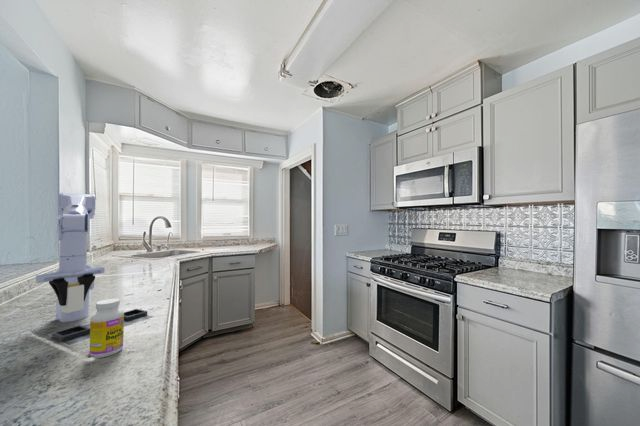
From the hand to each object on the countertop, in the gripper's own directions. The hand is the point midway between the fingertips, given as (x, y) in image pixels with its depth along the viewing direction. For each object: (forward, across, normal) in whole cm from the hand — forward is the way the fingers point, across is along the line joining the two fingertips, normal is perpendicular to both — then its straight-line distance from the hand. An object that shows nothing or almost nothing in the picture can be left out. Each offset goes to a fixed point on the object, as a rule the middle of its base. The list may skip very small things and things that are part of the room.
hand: (72, 303), depth 74 cm
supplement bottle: (+10, 0, -19) cm, 22 cm away
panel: (+10, +8, 0) cm, 13 cm away
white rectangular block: (+2, 0, 0) cm, 2 cm away
